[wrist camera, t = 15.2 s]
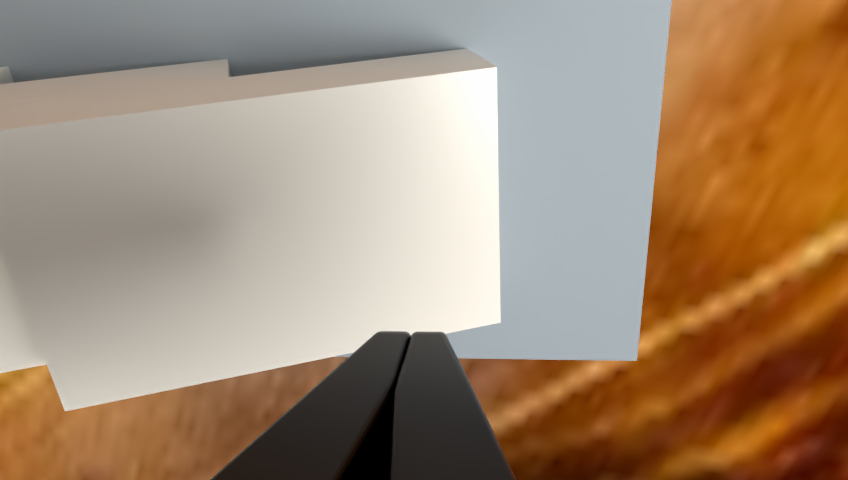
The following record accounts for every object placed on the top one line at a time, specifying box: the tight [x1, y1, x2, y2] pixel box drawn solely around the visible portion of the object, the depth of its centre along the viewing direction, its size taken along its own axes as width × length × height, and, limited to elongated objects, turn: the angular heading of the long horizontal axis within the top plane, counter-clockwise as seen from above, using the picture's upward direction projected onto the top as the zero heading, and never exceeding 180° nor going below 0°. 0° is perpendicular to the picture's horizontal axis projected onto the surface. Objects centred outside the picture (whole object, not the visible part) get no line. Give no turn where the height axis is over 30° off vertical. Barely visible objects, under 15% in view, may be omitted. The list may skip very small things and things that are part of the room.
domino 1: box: [0, 59, 231, 373], centre depth 13 cm, size 2×5×8 cm
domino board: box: [0, 0, 672, 361], centre depth 15 cm, size 23×9×1 cm, turn 93°
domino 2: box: [0, 49, 501, 411], centre depth 12 cm, size 2×5×8 cm
